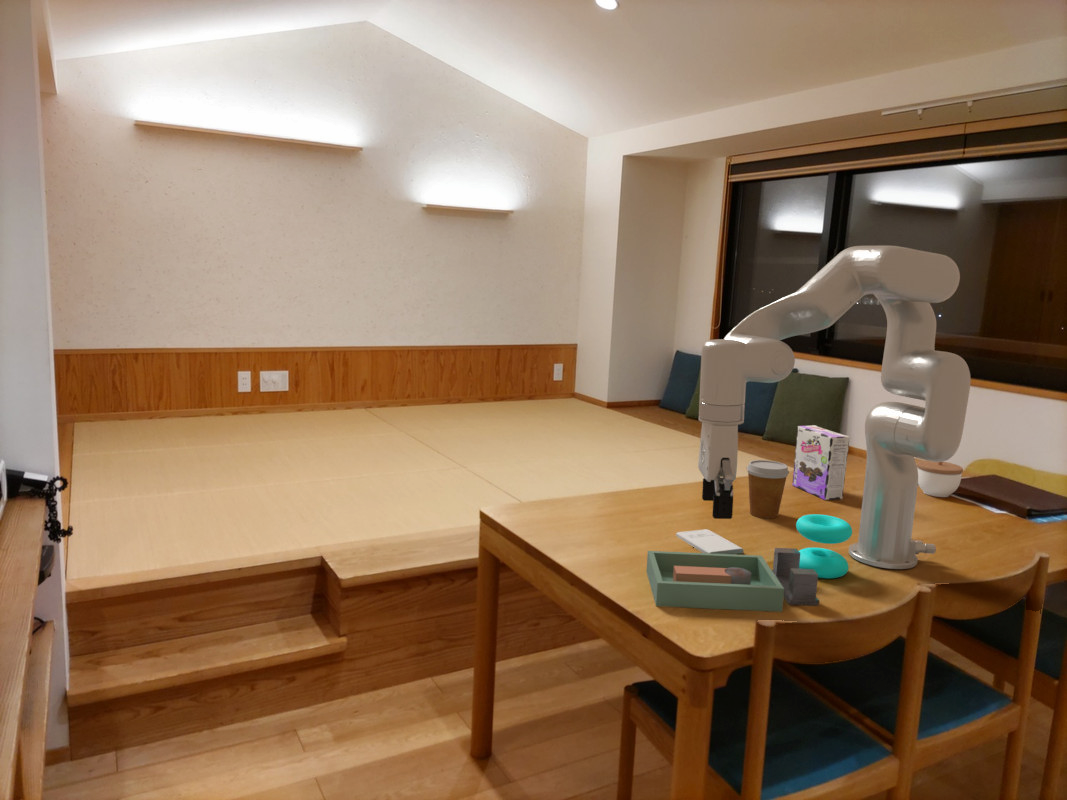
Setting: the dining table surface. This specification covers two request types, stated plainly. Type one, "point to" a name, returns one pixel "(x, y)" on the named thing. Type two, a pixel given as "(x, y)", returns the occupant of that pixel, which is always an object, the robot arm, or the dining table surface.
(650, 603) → the dining table surface
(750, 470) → the disposable coffee cup
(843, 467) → the candy box
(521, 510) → the dining table surface
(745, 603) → the tray
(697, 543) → the external hard drive
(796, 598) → the bracket
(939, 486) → the lidded jar
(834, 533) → the donuts
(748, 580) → the strut
